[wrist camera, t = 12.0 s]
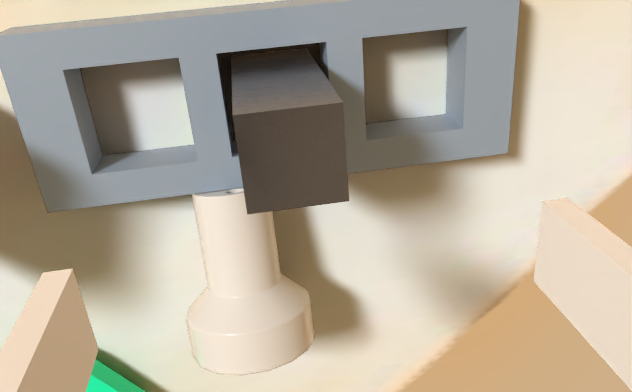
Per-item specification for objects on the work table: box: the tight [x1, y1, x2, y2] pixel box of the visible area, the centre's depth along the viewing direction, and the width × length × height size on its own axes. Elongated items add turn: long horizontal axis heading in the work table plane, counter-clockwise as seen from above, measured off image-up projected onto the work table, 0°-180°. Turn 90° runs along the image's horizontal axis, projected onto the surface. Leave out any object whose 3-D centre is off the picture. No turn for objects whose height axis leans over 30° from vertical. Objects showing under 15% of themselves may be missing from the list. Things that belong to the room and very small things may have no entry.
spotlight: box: [186, 187, 315, 375], centre depth 36 cm, size 8×11×8 cm
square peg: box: [231, 48, 349, 215], centre depth 29 cm, size 4×4×12 cm
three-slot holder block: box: [0, 0, 520, 213], centre depth 33 cm, size 28×10×3 cm, turn 94°
